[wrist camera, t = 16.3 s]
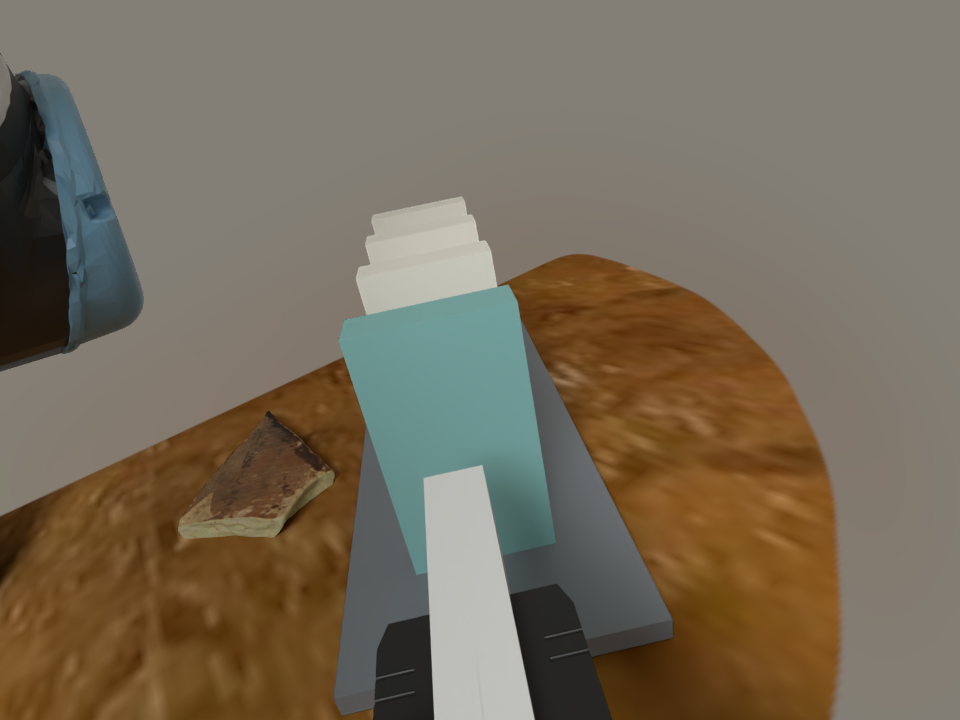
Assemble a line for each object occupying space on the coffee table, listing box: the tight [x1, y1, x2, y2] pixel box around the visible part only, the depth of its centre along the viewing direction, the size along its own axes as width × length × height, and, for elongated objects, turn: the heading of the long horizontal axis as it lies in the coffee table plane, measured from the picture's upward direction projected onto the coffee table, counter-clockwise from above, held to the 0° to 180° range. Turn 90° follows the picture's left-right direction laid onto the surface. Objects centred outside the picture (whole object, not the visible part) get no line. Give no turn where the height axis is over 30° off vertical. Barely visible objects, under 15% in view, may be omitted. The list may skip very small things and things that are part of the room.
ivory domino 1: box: [371, 196, 467, 235], centre depth 38 cm, size 6×2×11 cm, turn 98°
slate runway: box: [334, 320, 673, 716], centre depth 32 cm, size 12×28×1 cm, turn 8°
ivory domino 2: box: [365, 214, 479, 264], centre depth 32 cm, size 6×2×11 cm, turn 98°
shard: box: [178, 411, 335, 539], centre depth 33 cm, size 11×8×2 cm
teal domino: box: [338, 285, 556, 575], centre depth 21 cm, size 6×2×11 cm, turn 98°
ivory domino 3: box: [356, 241, 497, 315], centre depth 27 cm, size 6×2×11 cm, turn 98°
